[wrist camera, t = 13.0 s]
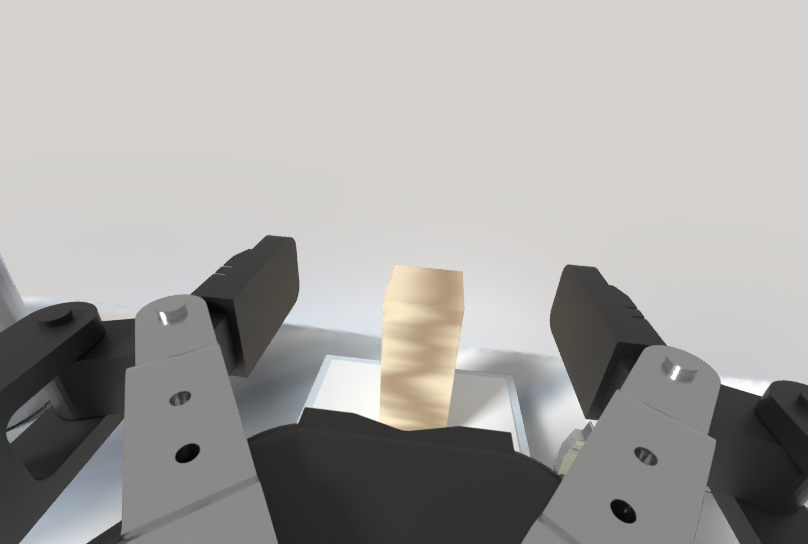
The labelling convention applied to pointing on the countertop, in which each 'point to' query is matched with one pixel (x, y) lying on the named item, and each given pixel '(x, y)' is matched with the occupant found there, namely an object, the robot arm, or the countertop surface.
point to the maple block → (419, 346)
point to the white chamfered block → (469, 406)
